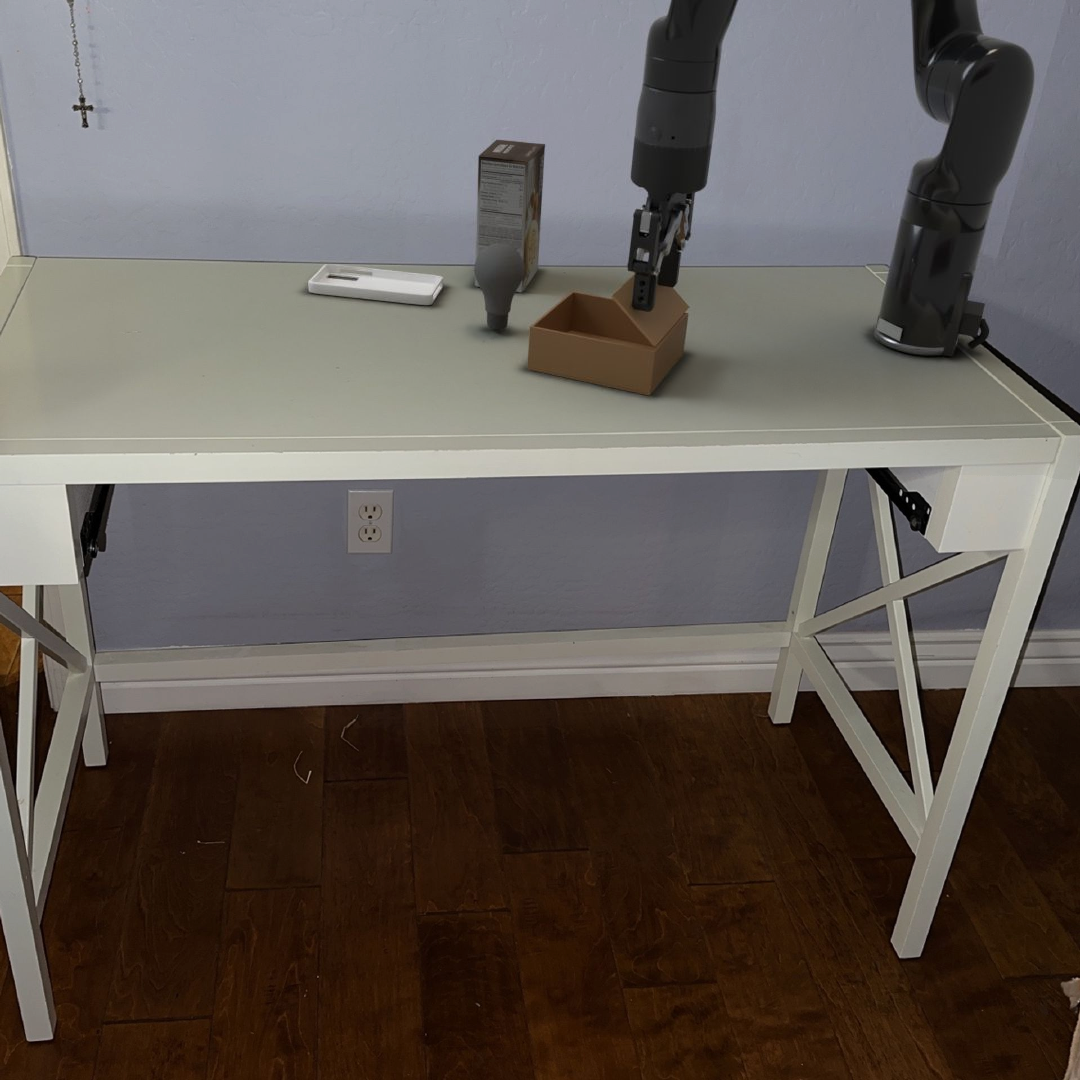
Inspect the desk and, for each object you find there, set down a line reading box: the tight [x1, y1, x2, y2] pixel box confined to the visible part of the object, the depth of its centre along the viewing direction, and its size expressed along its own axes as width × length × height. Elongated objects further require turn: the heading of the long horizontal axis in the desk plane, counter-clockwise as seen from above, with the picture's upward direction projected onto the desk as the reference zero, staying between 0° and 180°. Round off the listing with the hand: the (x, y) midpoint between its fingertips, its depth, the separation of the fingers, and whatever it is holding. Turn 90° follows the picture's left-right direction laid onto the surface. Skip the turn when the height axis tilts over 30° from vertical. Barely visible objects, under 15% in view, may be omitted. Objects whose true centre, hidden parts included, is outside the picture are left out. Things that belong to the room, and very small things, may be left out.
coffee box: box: [474, 139, 546, 293], centre depth 143 cm, size 9×6×16 cm
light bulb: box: [473, 243, 525, 333], centre depth 129 cm, size 6×6×10 cm
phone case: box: [307, 263, 444, 306], centre depth 141 cm, size 7×1×15 cm
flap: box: [610, 273, 690, 347], centre depth 121 cm, size 7×12×1 cm
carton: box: [526, 290, 689, 396], centre depth 125 cm, size 14×13×5 cm
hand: (654, 297), depth 120 cm, fingers open, 8 cm apart
